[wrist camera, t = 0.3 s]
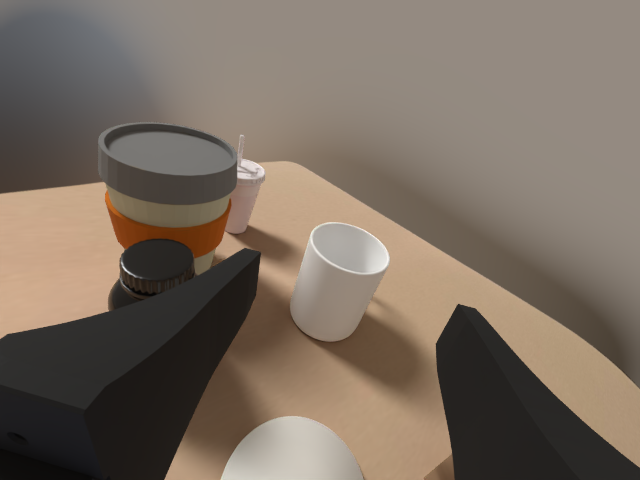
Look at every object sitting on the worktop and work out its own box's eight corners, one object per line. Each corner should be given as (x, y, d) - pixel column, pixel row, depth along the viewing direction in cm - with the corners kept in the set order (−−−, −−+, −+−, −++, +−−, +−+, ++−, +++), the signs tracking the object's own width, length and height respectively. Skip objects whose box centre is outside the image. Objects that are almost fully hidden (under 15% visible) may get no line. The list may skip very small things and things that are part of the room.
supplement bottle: (208, 330, 33) (218, 237, 26) (192, 395, 27) (200, 299, 21) (135, 323, 31) (126, 223, 25) (103, 391, 26) (80, 285, 19)
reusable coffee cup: (95, 246, 38) (74, 120, 29) (196, 224, 46) (203, 121, 38) (136, 319, 32) (125, 185, 23) (244, 278, 40) (264, 169, 32)
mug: (375, 298, 44) (407, 236, 38) (337, 359, 34) (373, 288, 28) (322, 267, 46) (345, 204, 40) (273, 316, 36) (294, 242, 31)
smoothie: (222, 210, 51) (231, 123, 43) (260, 222, 51) (277, 137, 43) (204, 230, 45) (212, 135, 38) (247, 244, 46) (264, 152, 38)
